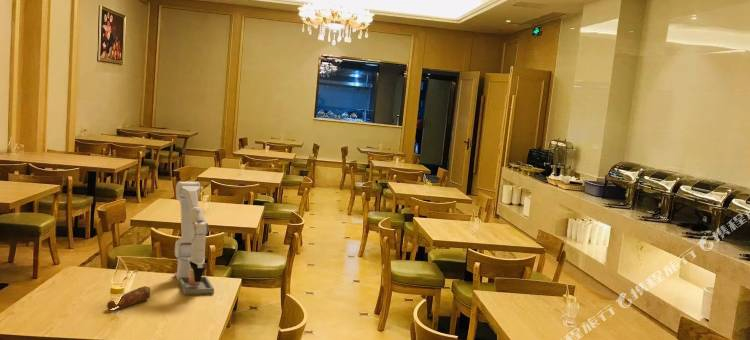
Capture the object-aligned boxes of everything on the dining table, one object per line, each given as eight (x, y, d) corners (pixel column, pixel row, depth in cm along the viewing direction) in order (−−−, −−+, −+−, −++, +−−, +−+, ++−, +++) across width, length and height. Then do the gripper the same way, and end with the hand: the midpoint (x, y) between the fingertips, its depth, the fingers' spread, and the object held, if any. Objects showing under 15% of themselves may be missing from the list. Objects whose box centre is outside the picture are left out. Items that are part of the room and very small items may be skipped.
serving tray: (178, 282, 283) (179, 277, 282) (206, 281, 288) (206, 276, 287) (184, 295, 266) (185, 289, 266) (213, 294, 271) (214, 288, 271)
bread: (151, 300, 257) (152, 287, 257) (113, 313, 240) (114, 299, 239) (140, 297, 260) (140, 284, 259) (101, 309, 243) (102, 295, 242)
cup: (186, 282, 278) (189, 266, 277) (199, 283, 280) (201, 267, 280) (188, 285, 273) (191, 269, 272) (201, 286, 275) (203, 270, 275)
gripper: (186, 245, 280) (184, 275, 281) (191, 253, 267) (189, 285, 268) (202, 245, 283) (200, 274, 284) (208, 253, 270) (206, 284, 271)
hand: (196, 279), depth 277 cm, fingers closed on cup, 5 cm apart
